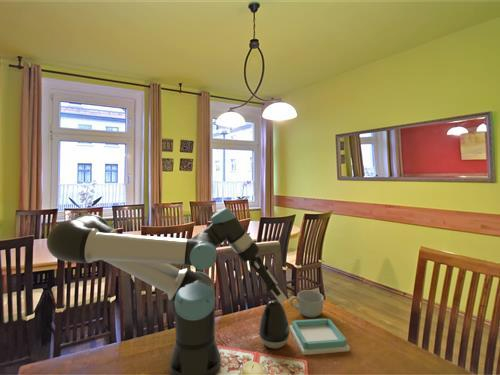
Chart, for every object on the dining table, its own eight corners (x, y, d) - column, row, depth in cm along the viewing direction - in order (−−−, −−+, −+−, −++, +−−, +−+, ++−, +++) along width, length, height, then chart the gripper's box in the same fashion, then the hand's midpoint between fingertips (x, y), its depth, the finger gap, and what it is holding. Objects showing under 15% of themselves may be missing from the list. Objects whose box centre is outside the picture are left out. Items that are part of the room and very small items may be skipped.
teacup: (321, 308, 125) (321, 290, 124) (325, 321, 114) (325, 301, 113) (288, 306, 126) (289, 289, 126) (289, 319, 115) (290, 300, 115)
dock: (302, 354, 93) (303, 345, 93) (289, 328, 109) (289, 320, 108) (349, 351, 95) (350, 341, 95) (329, 325, 111) (330, 317, 111)
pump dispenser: (271, 332, 106) (271, 291, 105) (295, 343, 99) (295, 300, 98) (252, 344, 98) (252, 300, 98) (276, 357, 91) (276, 310, 91)
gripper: (259, 249, 89) (297, 301, 91) (248, 232, 113) (279, 274, 116) (239, 264, 88) (279, 316, 91) (233, 244, 113) (264, 285, 116)
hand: (279, 292), depth 103 cm, fingers open, 13 cm apart
